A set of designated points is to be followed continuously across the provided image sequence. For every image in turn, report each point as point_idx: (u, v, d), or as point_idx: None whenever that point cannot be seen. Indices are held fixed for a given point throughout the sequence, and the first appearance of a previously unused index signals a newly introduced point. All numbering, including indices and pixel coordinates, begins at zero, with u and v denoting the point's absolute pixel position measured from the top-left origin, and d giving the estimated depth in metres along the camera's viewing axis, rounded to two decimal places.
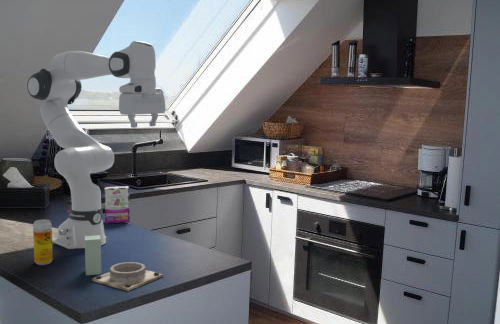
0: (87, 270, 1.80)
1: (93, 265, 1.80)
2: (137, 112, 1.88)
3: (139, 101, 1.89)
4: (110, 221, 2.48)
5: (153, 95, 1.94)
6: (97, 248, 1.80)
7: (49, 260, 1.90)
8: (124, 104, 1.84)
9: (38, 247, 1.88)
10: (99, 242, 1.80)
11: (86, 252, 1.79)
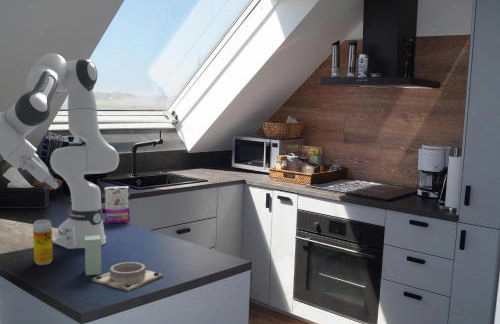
0: (87, 270, 1.80)
1: (93, 265, 1.80)
2: None
3: None
4: (110, 221, 2.48)
5: None
6: (97, 248, 1.80)
7: (49, 260, 1.90)
8: None
9: (38, 247, 1.88)
10: (99, 242, 1.80)
11: (86, 252, 1.79)
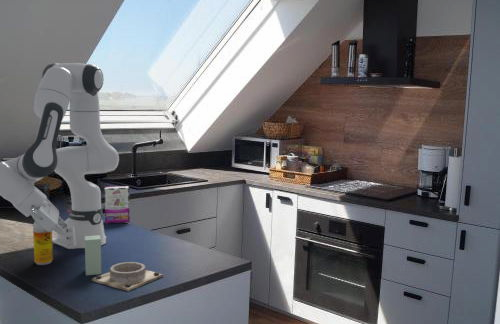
0: (87, 270, 1.80)
1: (93, 265, 1.80)
2: None
3: None
4: (110, 221, 2.48)
5: None
6: (97, 248, 1.80)
7: (49, 260, 1.90)
8: None
9: (38, 247, 1.88)
10: (99, 242, 1.80)
11: (86, 252, 1.79)
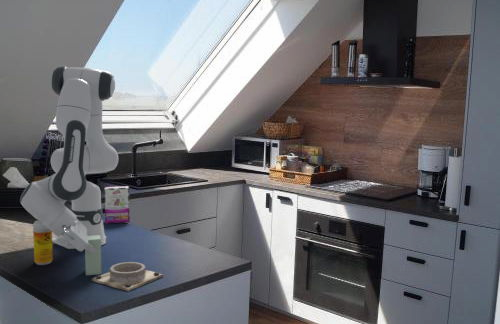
0: (87, 270, 1.80)
1: (93, 265, 1.80)
2: None
3: None
4: (110, 221, 2.48)
5: None
6: (97, 248, 1.80)
7: (49, 260, 1.90)
8: None
9: (38, 247, 1.88)
10: (99, 242, 1.80)
11: (86, 252, 1.79)
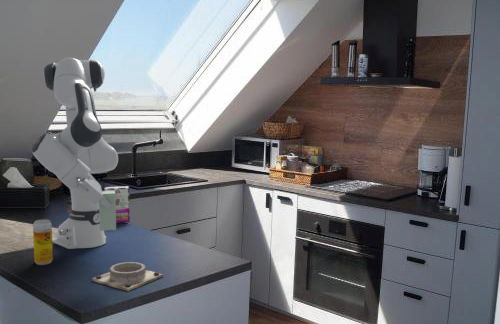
0: (101, 225, 1.74)
1: (107, 221, 1.75)
2: None
3: None
4: None
5: None
6: (111, 202, 1.74)
7: (49, 260, 1.90)
8: None
9: (38, 247, 1.88)
10: (114, 196, 1.74)
11: (100, 206, 1.73)
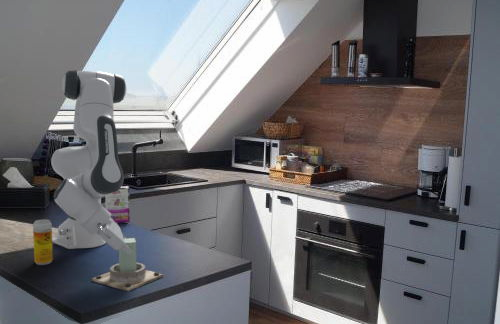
0: None
1: (128, 269, 1.74)
2: None
3: None
4: None
5: None
6: None
7: (49, 260, 1.90)
8: None
9: (38, 247, 1.88)
10: (134, 245, 1.74)
11: (121, 255, 1.73)
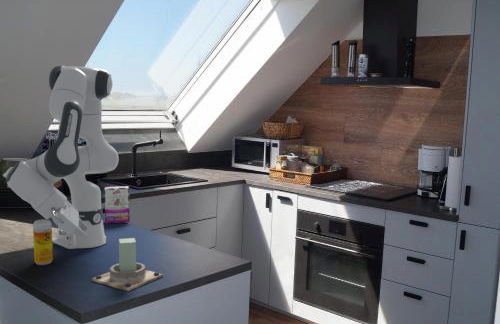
0: None
1: (128, 269, 1.74)
2: None
3: None
4: (110, 221, 2.48)
5: None
6: (132, 251, 1.74)
7: (49, 260, 1.90)
8: None
9: (38, 247, 1.88)
10: (134, 245, 1.74)
11: (121, 255, 1.73)
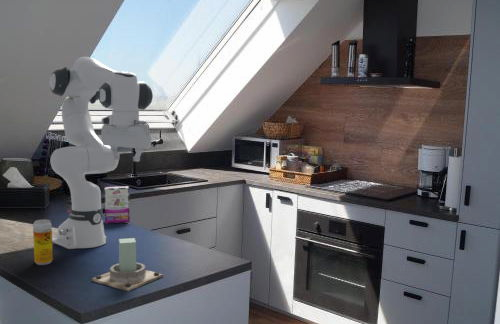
0: None
1: (128, 269, 1.74)
2: (112, 144, 1.86)
3: (115, 133, 1.85)
4: (110, 221, 2.48)
5: (129, 128, 1.81)
6: (132, 251, 1.74)
7: (49, 260, 1.90)
8: None
9: (38, 247, 1.88)
10: (134, 245, 1.74)
11: (121, 255, 1.73)
